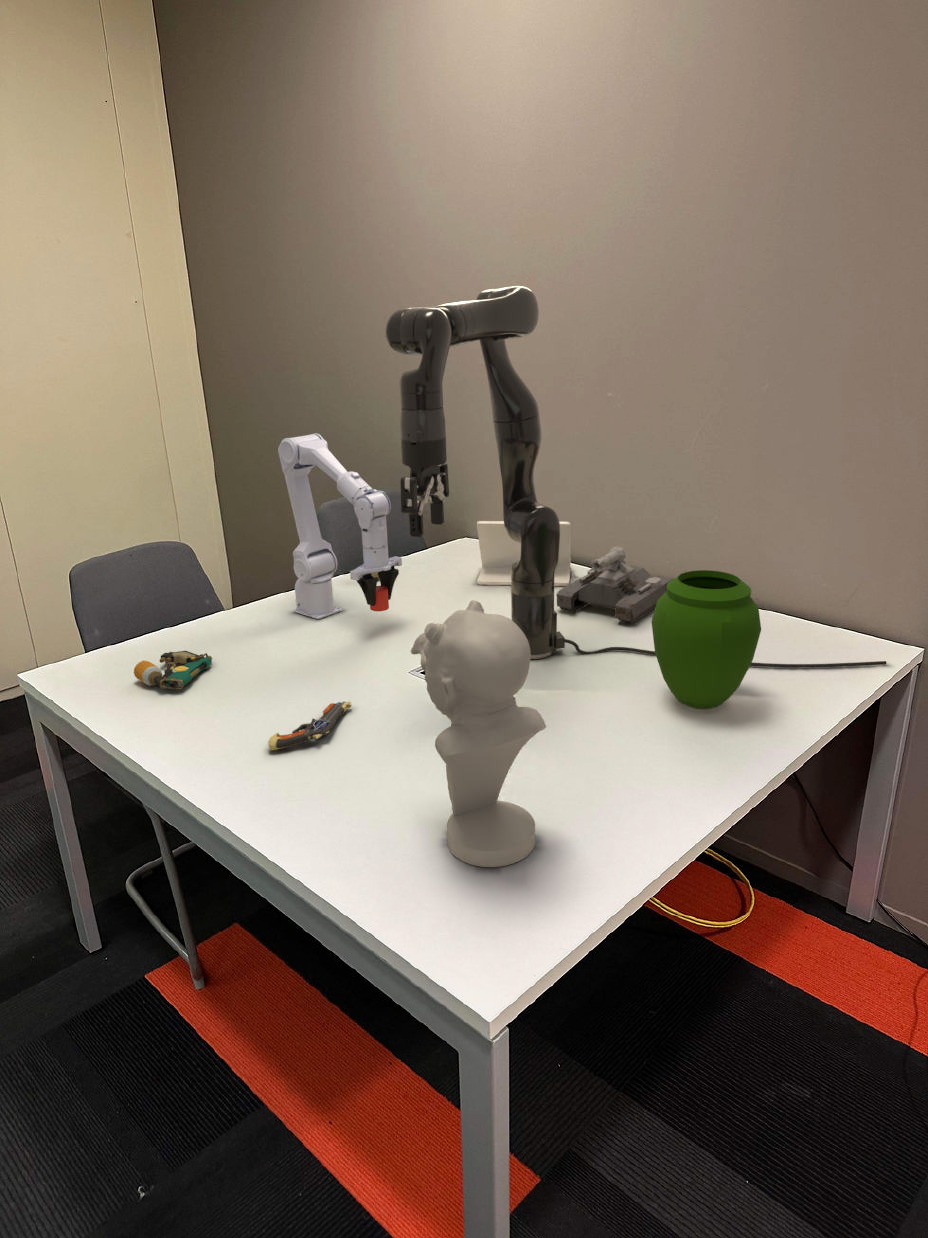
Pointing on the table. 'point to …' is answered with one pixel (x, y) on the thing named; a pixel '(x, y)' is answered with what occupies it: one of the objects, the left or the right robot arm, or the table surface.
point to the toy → (614, 588)
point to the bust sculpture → (481, 729)
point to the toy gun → (311, 727)
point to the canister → (381, 599)
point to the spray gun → (172, 669)
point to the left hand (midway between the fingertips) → (378, 601)
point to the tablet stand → (514, 554)
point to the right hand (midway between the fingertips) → (427, 529)
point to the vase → (705, 636)
